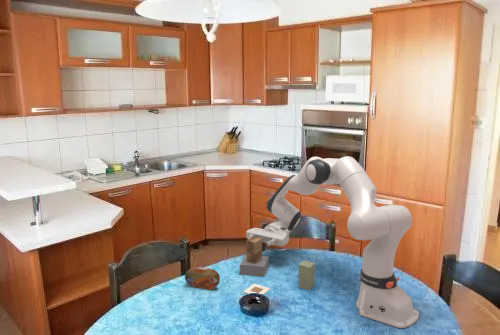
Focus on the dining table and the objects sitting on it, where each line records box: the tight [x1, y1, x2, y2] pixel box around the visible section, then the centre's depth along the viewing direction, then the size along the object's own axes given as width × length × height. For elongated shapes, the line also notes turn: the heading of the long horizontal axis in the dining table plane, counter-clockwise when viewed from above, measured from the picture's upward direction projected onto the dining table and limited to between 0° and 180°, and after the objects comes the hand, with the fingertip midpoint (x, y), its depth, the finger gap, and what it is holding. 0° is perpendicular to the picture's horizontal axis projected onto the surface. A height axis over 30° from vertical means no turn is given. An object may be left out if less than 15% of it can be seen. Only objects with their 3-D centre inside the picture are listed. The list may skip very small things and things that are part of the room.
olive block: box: [297, 260, 316, 291], centre depth 173 cm, size 5×5×10 cm
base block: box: [239, 254, 270, 277], centre depth 189 cm, size 11×11×5 cm
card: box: [243, 283, 271, 295], centre depth 171 cm, size 8×8×1 cm
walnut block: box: [245, 237, 263, 263], centre depth 188 cm, size 5×5×10 cm
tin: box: [184, 266, 221, 291], centre depth 174 cm, size 15×3×8 cm, turn 73°
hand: (258, 242), depth 190 cm, fingers open, 8 cm apart
